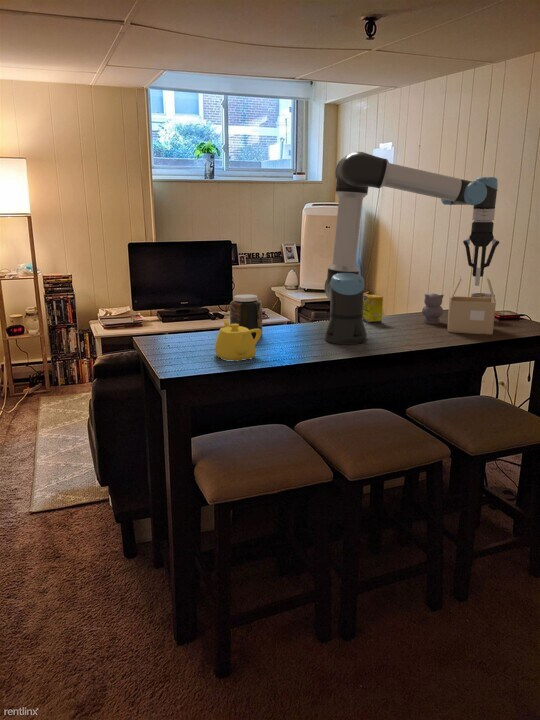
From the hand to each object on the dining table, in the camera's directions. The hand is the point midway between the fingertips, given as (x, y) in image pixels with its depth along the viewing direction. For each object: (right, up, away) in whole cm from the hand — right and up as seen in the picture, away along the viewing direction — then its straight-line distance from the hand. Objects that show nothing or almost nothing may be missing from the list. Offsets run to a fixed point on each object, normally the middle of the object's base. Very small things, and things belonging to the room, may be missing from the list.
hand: (476, 285), depth 209 cm
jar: (-88, -19, -2) cm, 90 cm away
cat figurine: (-12, -13, +19) cm, 26 cm away
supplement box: (-36, -13, +21) cm, 44 cm away
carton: (-1, -17, +5) cm, 18 cm away
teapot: (-89, -27, -30) cm, 97 cm away
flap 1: (-7, -1, +2) cm, 8 cm away
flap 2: (+5, -2, -1) cm, 5 cm away
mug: (+10, -11, +25) cm, 29 cm away
